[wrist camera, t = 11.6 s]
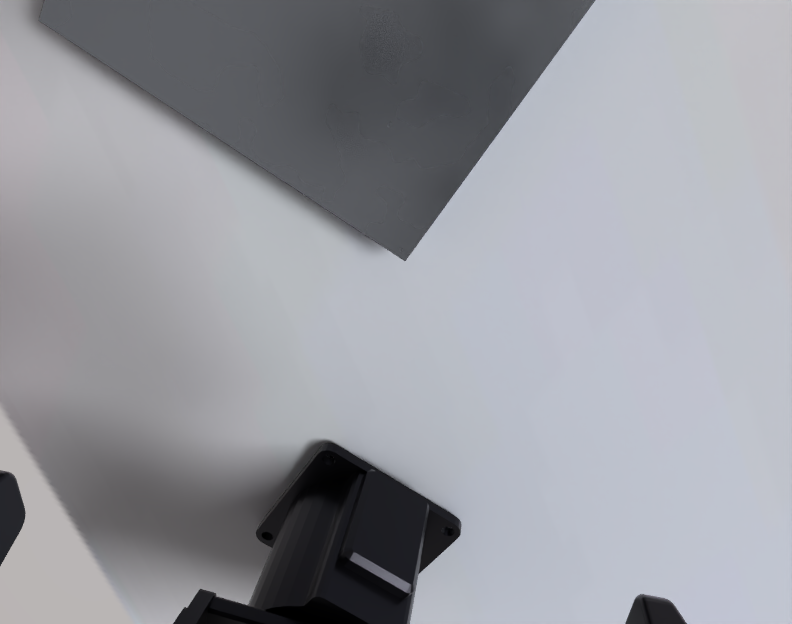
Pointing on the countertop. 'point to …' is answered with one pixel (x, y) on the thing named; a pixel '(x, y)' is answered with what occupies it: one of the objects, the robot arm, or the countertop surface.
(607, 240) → the countertop surface
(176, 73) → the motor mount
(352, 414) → the countertop surface
